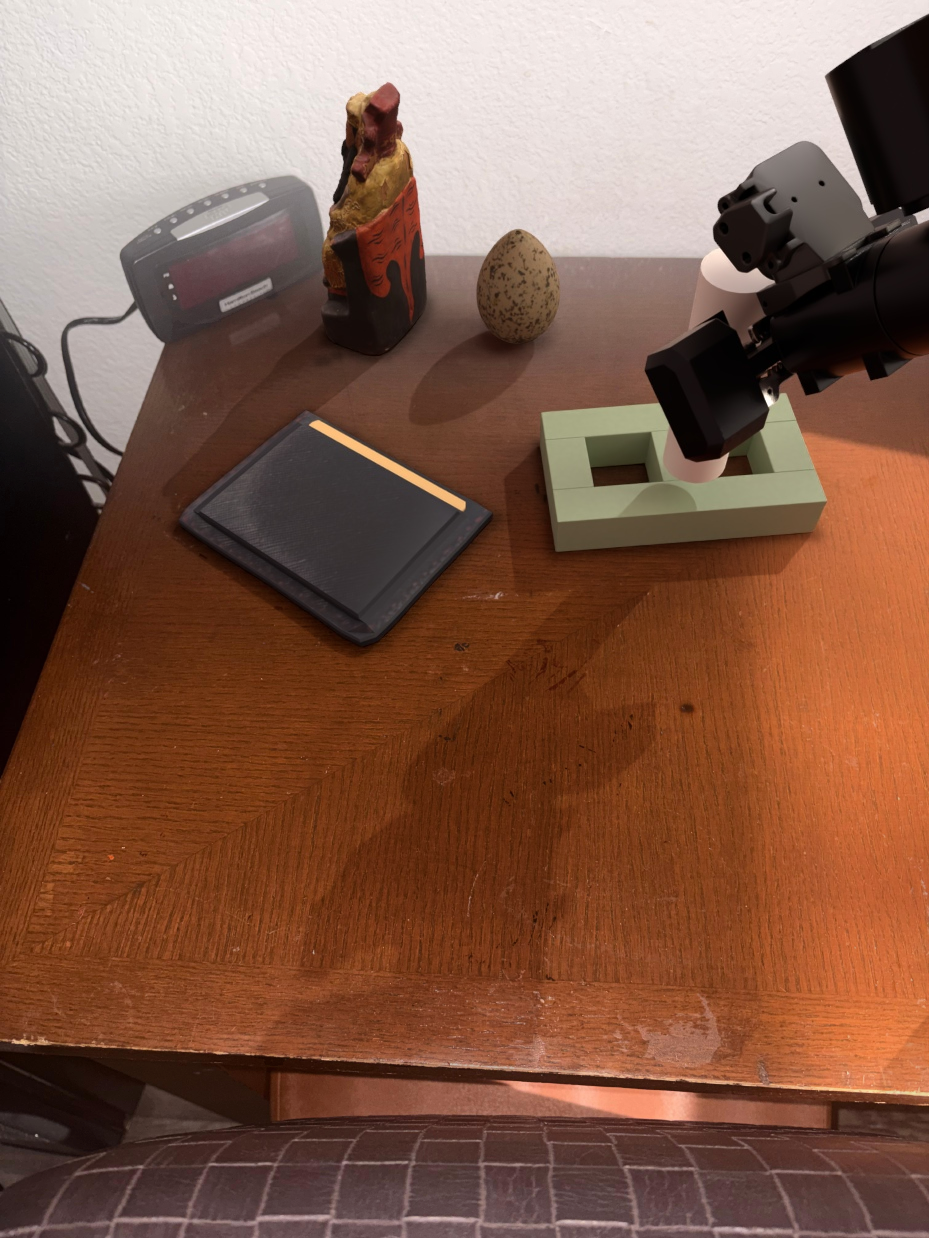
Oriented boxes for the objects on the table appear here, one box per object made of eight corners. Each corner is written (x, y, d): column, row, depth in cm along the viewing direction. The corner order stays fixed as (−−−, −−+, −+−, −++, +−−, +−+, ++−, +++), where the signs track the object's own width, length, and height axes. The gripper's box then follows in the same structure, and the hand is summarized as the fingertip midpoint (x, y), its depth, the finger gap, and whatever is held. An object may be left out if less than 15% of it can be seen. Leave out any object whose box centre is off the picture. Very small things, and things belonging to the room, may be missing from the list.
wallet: (166, 507, 64) (307, 394, 70) (175, 522, 66) (312, 411, 72) (357, 644, 57) (497, 505, 63) (362, 658, 58) (498, 521, 64)
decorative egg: (472, 359, 74) (467, 257, 66) (484, 307, 78) (480, 204, 70) (553, 364, 73) (558, 261, 65) (561, 311, 77) (567, 208, 69)
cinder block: (539, 444, 68) (540, 411, 65) (774, 425, 68) (786, 392, 65) (555, 552, 62) (557, 522, 59) (813, 532, 62) (827, 501, 59)
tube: (666, 484, 58) (706, 294, 45) (659, 439, 60) (695, 247, 48) (730, 482, 58) (787, 291, 45) (720, 437, 60) (772, 243, 48)
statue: (374, 275, 81) (337, 45, 65) (444, 299, 79) (425, 66, 62) (299, 351, 76) (238, 120, 59) (372, 379, 74) (330, 147, 57)
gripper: (984, 46, 40) (750, 182, 54) (707, 203, 34) (527, 308, 48) (1053, 271, 43) (814, 343, 57) (809, 449, 37) (611, 479, 51)
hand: (699, 364), depth 53 cm, fingers closed on tube, 4 cm apart
